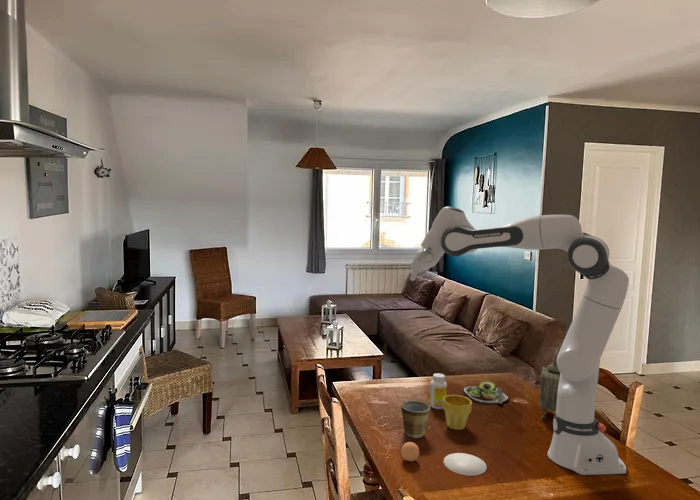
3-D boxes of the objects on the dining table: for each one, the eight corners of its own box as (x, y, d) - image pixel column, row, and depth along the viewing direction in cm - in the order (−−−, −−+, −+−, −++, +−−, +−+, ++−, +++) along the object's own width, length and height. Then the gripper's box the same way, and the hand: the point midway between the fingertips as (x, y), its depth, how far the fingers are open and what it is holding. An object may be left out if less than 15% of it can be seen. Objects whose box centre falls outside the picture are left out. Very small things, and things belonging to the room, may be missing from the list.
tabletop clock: (540, 406, 195) (544, 346, 193) (564, 411, 192) (569, 350, 190) (537, 420, 182) (542, 356, 180) (563, 425, 179) (568, 360, 177)
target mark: (482, 455, 154) (482, 454, 154) (490, 477, 141) (490, 476, 141) (441, 452, 155) (441, 451, 155) (446, 474, 142) (446, 473, 142)
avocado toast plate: (519, 406, 196) (520, 395, 196) (478, 408, 193) (479, 397, 192) (496, 389, 215) (497, 379, 215) (459, 390, 212) (459, 380, 211)
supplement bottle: (449, 407, 192) (451, 376, 190) (437, 411, 188) (439, 379, 187) (437, 401, 197) (439, 371, 196) (425, 405, 193) (427, 374, 192)
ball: (418, 456, 152) (419, 439, 152) (419, 465, 147) (420, 448, 146) (400, 455, 153) (401, 438, 152) (401, 464, 147) (401, 446, 147)
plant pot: (471, 434, 169) (472, 407, 168) (441, 430, 171) (442, 403, 170) (469, 421, 179) (471, 396, 178) (441, 418, 181) (443, 393, 180)
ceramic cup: (432, 439, 164) (434, 411, 163) (404, 441, 162) (405, 412, 161) (420, 422, 177) (422, 396, 176) (394, 424, 175) (395, 397, 174)
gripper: (431, 254, 164) (413, 287, 169) (449, 248, 182) (432, 278, 186) (416, 244, 166) (398, 277, 171) (435, 239, 184) (418, 269, 189)
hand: (416, 277), depth 179 cm, fingers open, 8 cm apart
